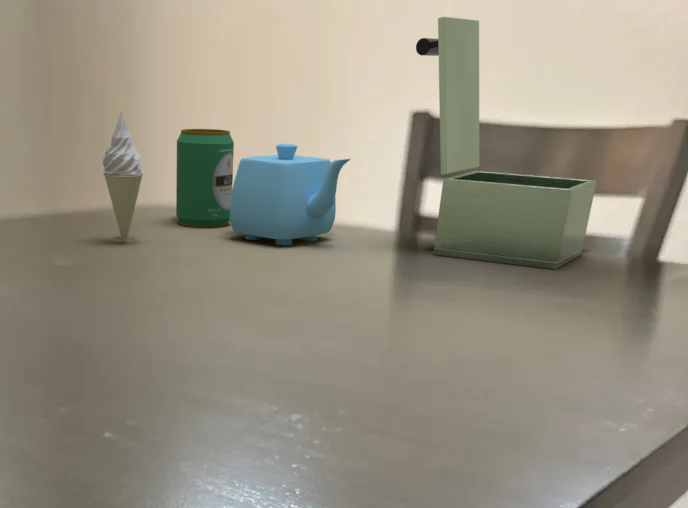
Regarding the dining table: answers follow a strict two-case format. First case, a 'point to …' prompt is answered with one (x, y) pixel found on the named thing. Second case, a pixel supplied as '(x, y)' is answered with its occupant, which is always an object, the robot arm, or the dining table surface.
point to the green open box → (513, 218)
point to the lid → (457, 91)
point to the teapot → (284, 196)
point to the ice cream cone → (123, 176)
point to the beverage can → (204, 177)
